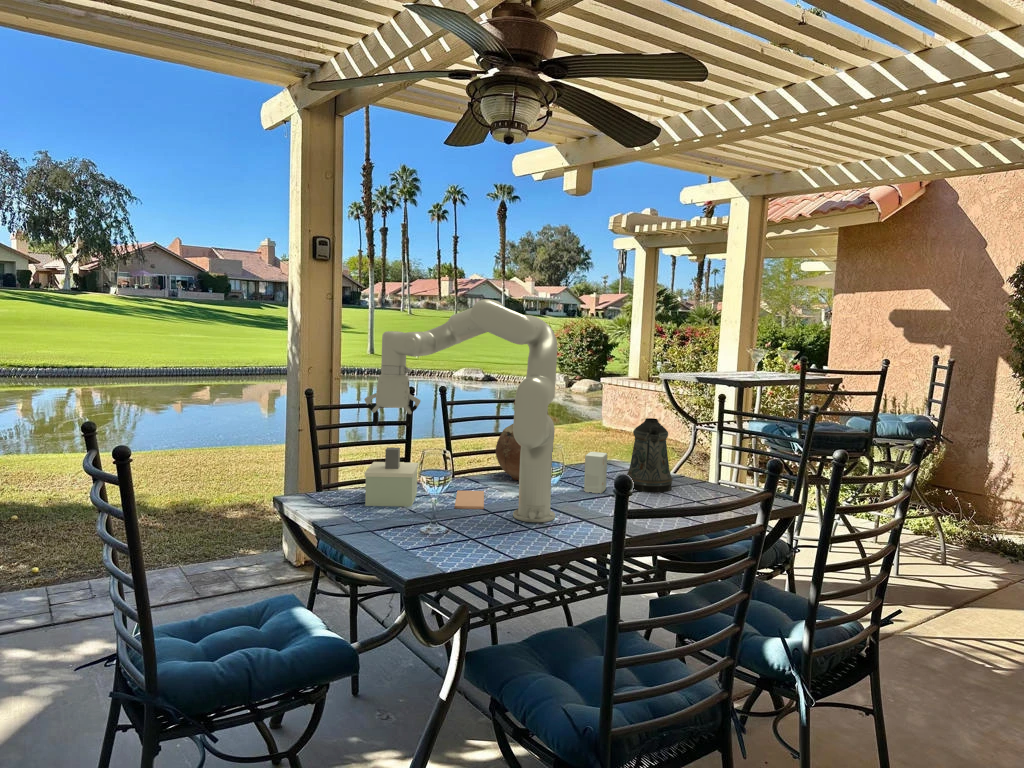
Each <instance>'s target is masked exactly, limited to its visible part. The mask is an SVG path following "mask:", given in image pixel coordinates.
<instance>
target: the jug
mask: <svg viewBox="0 0 1024 768" xmlns="http://www.w3.org/2000/svg"><path fill="white" fill-rule="evenodd" d="M513 405H514V406H515V401H513ZM547 414H548V415H549V411H548V412H547ZM520 452H521V446H520V445H519V444H518V443H517V441H516V440H515V438H514V434H513V423H511V424H510V425H509V426H507V427H505V428H504V429H503V430H502V432H501V434H500V435H499V437H498V439H497V441H496V445H495V457H496V460H497V462H498V464H499V466H500V468H501V469H502V470H503V472H505V473H506V474H507V475H508V476H510V478H511V479H512V480H514V481H517V480H518V481H517V482H519V474H520Z"/></svg>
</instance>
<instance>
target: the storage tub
mask: <svg viewBox="0 0 1024 768" xmlns="http://www.w3.org/2000/svg"><path fill="white" fill-rule="evenodd" d="M417 495H418V469H417V470H416V472H415V474H414V477H413V478H411V477H365V503H364V505H365V507H412V506H413V504H414V501H415V500H416V497H417Z"/></svg>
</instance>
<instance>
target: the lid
mask: <svg viewBox="0 0 1024 768" xmlns="http://www.w3.org/2000/svg"><path fill="white" fill-rule="evenodd" d="M384 453H385V454H384V455H385V456H384V457H385V461H373V462H372V463H371V464H370V465H369V467H368V468H366V470H365V471H364V478H366V477H411V478H413V477H414V474H415V472H416V470H417V471H418V468H419V462H403V461H401V447H389V446H388V447H386V448H385V451H384Z"/></svg>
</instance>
